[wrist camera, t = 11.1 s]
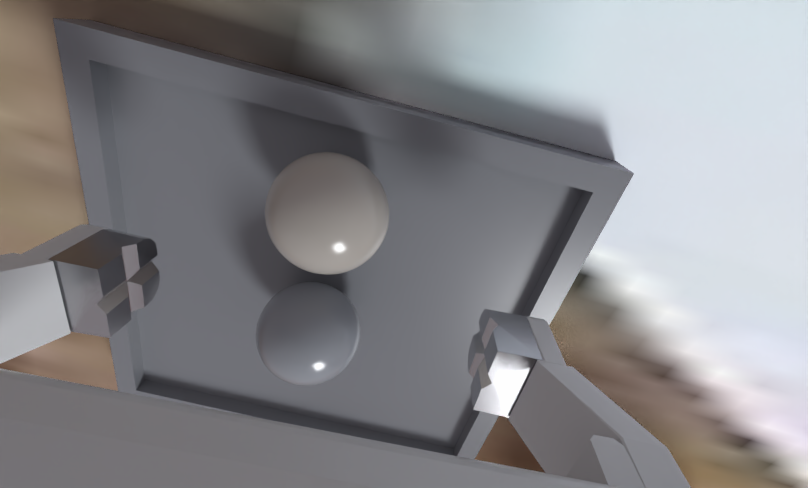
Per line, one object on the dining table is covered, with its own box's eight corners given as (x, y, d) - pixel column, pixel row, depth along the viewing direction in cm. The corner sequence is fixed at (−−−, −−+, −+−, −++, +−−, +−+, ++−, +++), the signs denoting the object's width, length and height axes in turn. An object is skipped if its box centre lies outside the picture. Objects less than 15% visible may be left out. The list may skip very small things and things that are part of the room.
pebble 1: (295, 126, 11) (245, 158, 8) (405, 155, 12) (395, 196, 9) (284, 225, 13) (240, 281, 10) (382, 249, 13) (366, 312, 10)
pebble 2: (282, 252, 14) (238, 313, 11) (375, 275, 14) (359, 342, 11) (274, 324, 15) (235, 395, 12) (358, 344, 15) (340, 418, 12)
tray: (89, 19, 11) (53, 18, 10) (616, 161, 12) (633, 173, 11) (137, 377, 18) (119, 398, 17) (464, 450, 19) (466, 474, 18)
